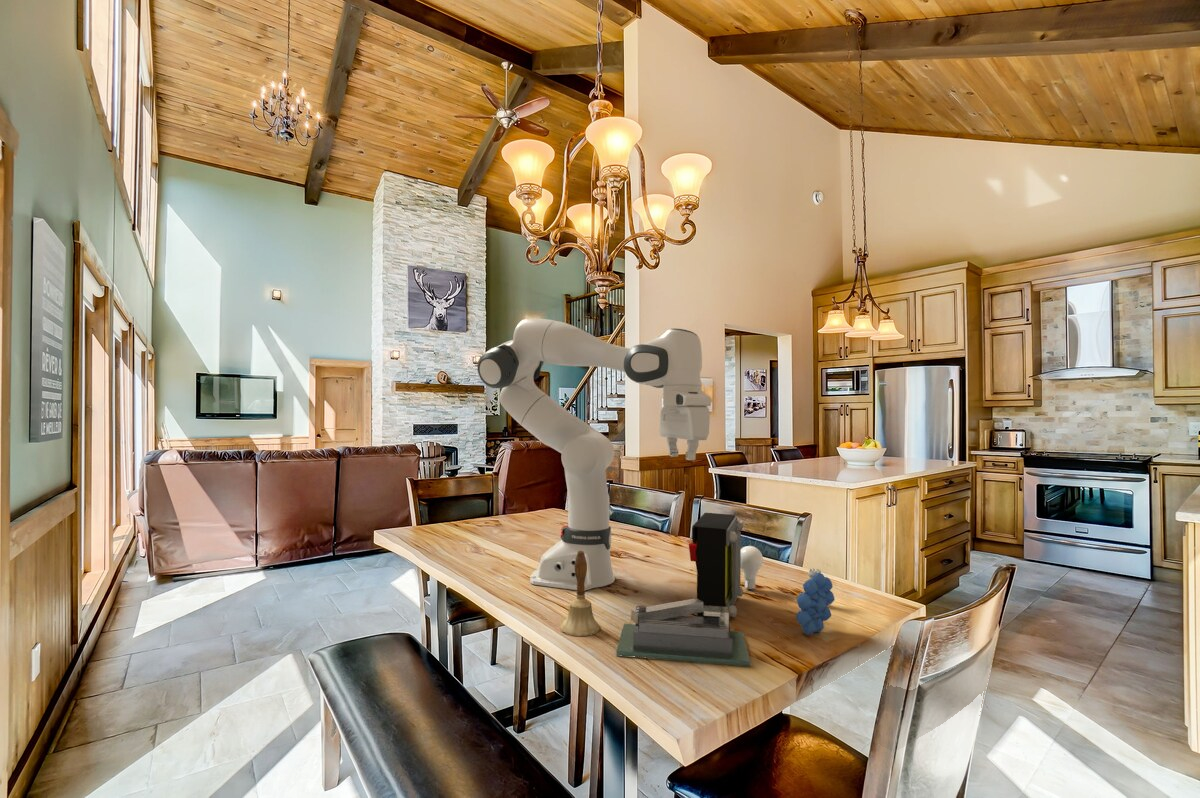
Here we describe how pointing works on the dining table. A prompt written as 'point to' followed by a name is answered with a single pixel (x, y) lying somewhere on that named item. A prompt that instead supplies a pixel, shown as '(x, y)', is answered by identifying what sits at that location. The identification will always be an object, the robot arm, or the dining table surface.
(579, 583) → the hand bell
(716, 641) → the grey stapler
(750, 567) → the lightbulb
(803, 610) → the grapes
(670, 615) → the grey metal bar
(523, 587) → the dining table surface
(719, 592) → the electrical component
